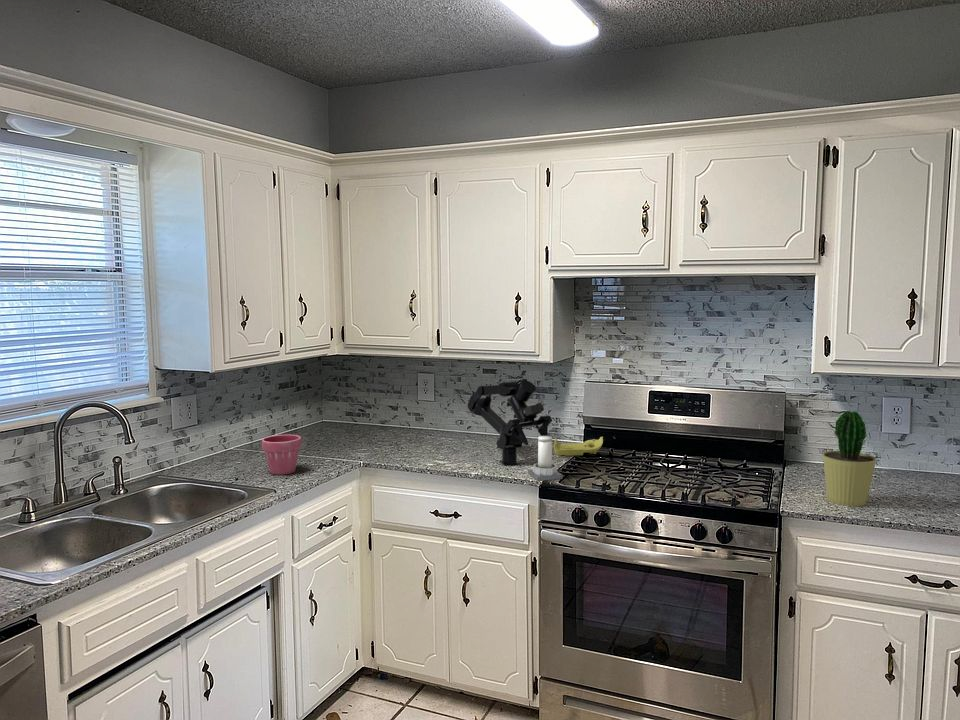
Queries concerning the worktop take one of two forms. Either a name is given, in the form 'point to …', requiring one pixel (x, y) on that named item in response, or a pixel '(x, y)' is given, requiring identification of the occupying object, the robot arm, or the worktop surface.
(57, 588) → the worktop surface
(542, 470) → the duct collar
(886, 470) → the worktop surface
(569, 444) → the plastic component
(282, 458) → the plant pot
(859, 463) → the potted cactus
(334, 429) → the worktop surface
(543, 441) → the white cylinder
